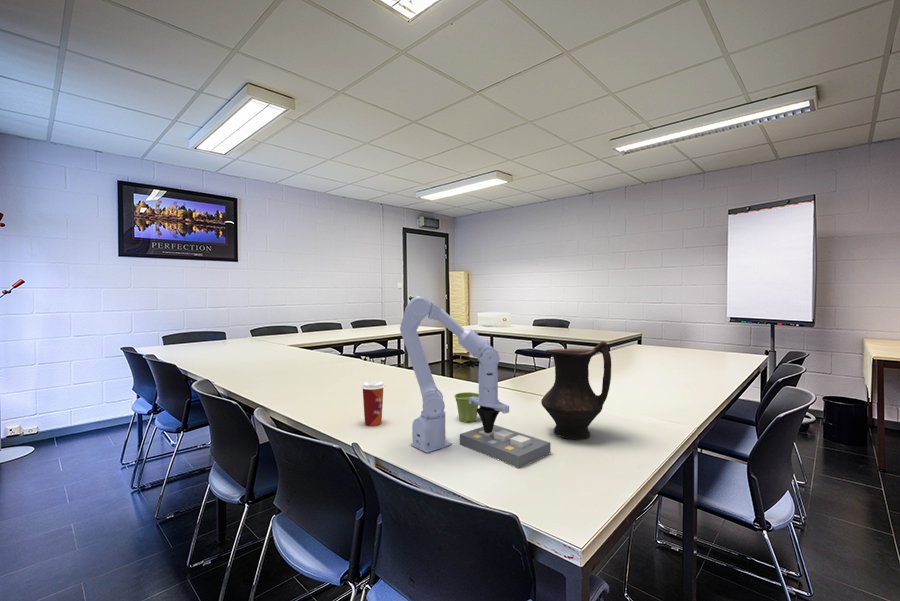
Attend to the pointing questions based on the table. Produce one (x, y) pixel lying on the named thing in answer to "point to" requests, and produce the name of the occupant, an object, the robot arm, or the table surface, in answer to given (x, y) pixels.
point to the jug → (576, 391)
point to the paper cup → (373, 402)
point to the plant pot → (466, 406)
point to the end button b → (520, 441)
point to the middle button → (503, 436)
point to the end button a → (487, 433)
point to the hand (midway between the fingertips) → (488, 432)
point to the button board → (505, 447)
